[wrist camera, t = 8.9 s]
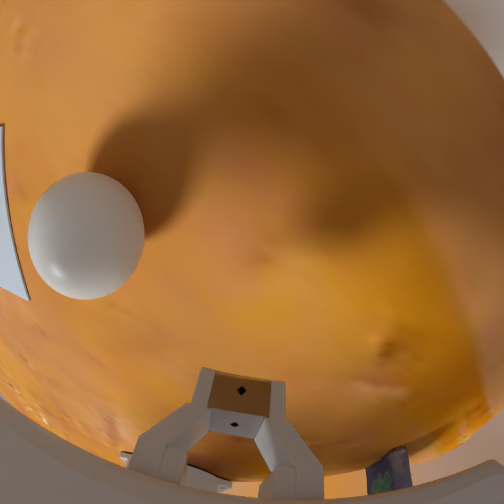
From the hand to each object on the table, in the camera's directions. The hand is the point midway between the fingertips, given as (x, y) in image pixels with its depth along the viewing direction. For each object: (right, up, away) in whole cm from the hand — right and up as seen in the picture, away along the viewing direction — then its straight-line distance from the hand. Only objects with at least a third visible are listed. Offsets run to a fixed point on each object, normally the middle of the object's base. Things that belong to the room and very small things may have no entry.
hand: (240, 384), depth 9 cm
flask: (+18, -23, +17) cm, 33 cm away
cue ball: (-7, +6, +1) cm, 9 cm away
